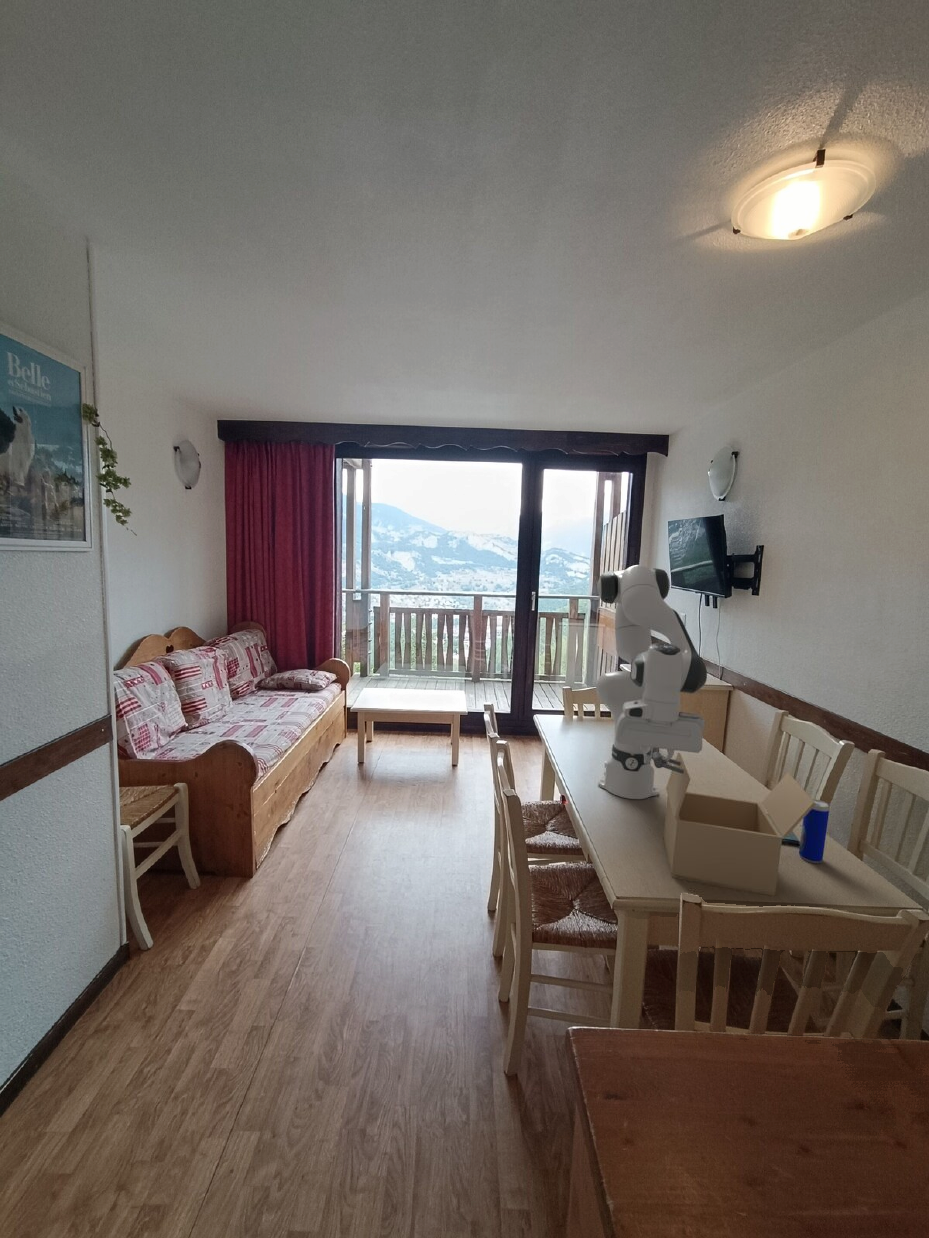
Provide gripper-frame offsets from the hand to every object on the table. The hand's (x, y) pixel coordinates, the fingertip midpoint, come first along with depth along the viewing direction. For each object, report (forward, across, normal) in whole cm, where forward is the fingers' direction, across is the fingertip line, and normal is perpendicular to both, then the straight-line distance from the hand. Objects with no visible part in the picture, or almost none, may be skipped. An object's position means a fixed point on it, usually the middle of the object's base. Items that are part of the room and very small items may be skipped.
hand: (655, 764), depth 132 cm
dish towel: (+24, -29, -26) cm, 46 cm away
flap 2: (+5, -30, 0) cm, 30 cm away
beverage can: (+24, -41, -12) cm, 49 cm away
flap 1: (+4, -6, 0) cm, 7 cm away
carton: (+24, -16, -1) cm, 29 cm away
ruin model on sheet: (+23, -7, -77) cm, 81 cm away
